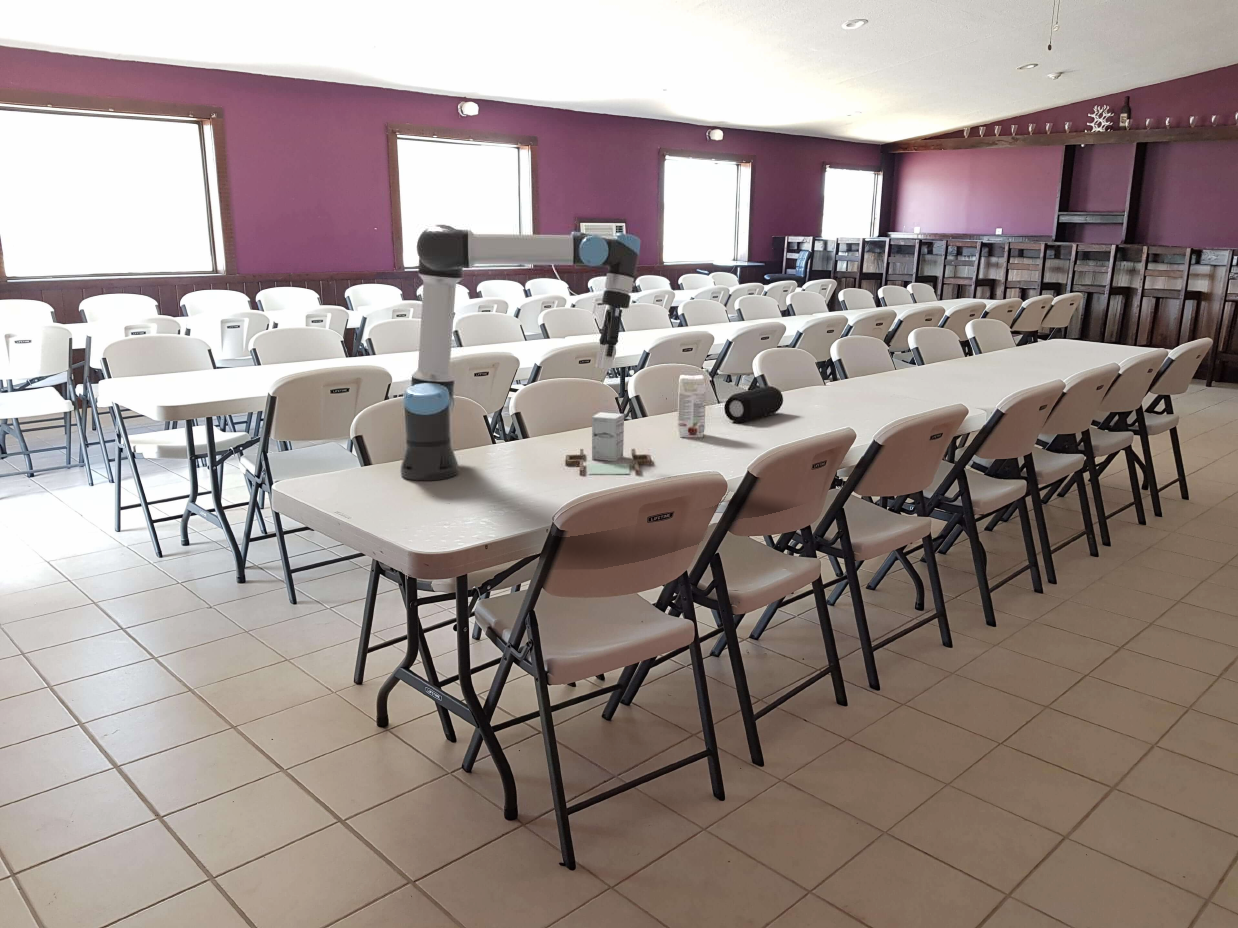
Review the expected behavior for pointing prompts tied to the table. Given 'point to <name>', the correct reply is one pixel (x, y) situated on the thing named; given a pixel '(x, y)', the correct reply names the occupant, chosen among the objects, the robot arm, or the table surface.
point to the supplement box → (607, 436)
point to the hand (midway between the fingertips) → (602, 368)
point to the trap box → (638, 458)
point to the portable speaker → (753, 404)
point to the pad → (608, 469)
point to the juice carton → (691, 406)
